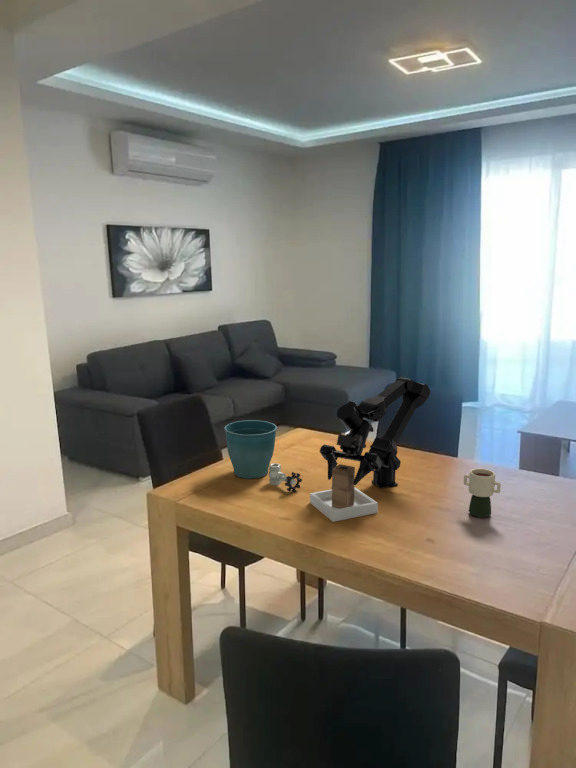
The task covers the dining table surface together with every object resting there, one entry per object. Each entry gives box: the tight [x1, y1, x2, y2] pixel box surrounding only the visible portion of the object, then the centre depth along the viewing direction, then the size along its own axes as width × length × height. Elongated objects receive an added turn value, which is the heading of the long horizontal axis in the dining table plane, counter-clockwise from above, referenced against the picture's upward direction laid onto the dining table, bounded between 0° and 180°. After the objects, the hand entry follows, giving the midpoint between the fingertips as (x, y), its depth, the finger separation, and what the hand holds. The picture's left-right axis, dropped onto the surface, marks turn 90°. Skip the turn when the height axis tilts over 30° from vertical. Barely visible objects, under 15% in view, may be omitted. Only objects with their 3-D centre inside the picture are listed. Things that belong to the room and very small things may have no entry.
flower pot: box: [224, 419, 278, 479], centre depth 203 cm, size 18×18×17 cm
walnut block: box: [331, 463, 356, 509], centre depth 174 cm, size 5×5×12 cm
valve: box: [268, 462, 303, 493], centre depth 191 cm, size 7×7×12 cm
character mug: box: [463, 468, 502, 518], centre depth 169 cm, size 11×7×13 cm, turn 50°
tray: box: [309, 486, 379, 523], centre depth 175 cm, size 15×15×3 cm
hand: (341, 481), depth 172 cm, fingers open, 8 cm apart
